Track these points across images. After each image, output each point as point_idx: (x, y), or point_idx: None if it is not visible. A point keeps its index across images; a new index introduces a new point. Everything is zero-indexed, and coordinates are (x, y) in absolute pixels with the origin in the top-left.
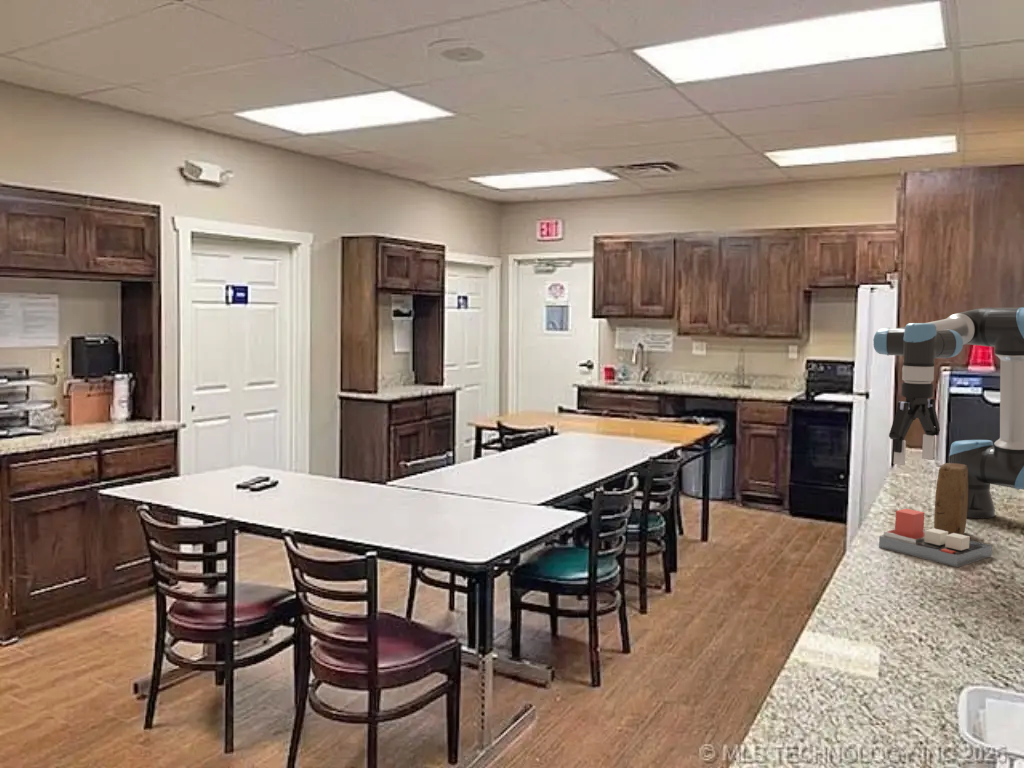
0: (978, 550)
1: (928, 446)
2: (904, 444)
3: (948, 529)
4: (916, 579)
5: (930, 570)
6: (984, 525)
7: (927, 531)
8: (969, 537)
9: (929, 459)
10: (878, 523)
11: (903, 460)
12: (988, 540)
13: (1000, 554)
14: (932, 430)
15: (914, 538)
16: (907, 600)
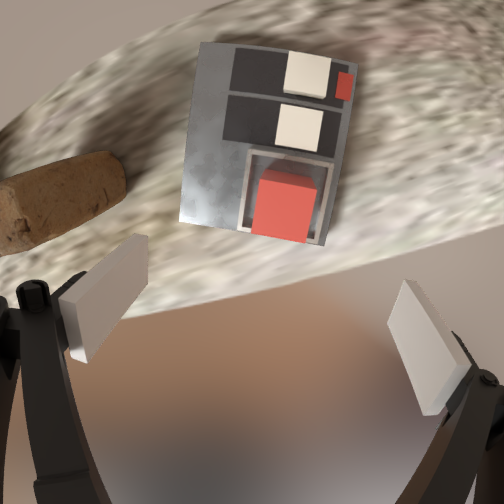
0: (264, 47)
1: (116, 288)
2: (460, 347)
3: (119, 171)
4: (476, 115)
5: (412, 105)
6: (15, 168)
7: (317, 144)
8: (290, 51)
9: (147, 247)
10: (142, 302)
11: (425, 294)
12: (90, 109)
13: (175, 45)
14: (53, 333)
15: (302, 176)
16: None
